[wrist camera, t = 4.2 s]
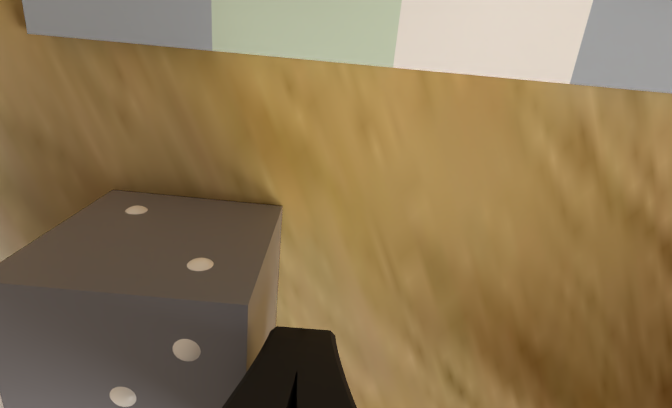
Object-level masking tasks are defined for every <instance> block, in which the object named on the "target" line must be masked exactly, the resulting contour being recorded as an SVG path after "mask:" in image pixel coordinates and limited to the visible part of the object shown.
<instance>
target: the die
mask: <svg viewBox="0 0 672 408" xmlns="http://www.w3.org/2000/svg"><path fill="white" fill-rule="evenodd" d="M282 207H283V206H276V205H265V204H255V203H244V202H234V201H223V200H213V199H202V198H192V197H182V196H171V195H161V194H150V193H140V192H129V191H119V190H112V191H110V192H109V193H107V194H105V195H104V196H102V197H101V198H99V199H98V200H96V201H95V202H93V203H92V204H90V205H88V206H87V207H85V208H84V209H82V210H81V211H79V212H78V213H76V214H75V215H73V216H71V217H70V218H68V219H67V220H65V221H64V222H62V223H61V224H59V225H58V226H56V227H54V228H53V229H51V230H50V231H48V232H47V233H45V234H44V235H42V236H41V237H39V238H37V239H36V240H34V241H33V242H31V243H30V244H28V245H27V246H25V247H23V248H22V249H20V250H19V251H17V252H16V253H14V254H13V255H11V256H10V257H8V258H6V259H5V260H3V261H2V262H0V394H1V398H2V402H3V406H4V408H222V407H223V405H224V404H225V403H226V401H227V400H228V398H229V397H230V395H231V394H232V393H233V391H234V390H235V388H236V387H237V386H238V384H239V383H240V381H241V380H242V378H243V377H244V376H245V374H246V372H247V371H248V369H249V368H250V366H251V365H252V363H253V362H254V360H255V358H256V357H257V355H258V353H259V352H260V350H261V348H262V346H263V345H264V343H265V341H266V339H267V337H268V335H269V333H270V331H271V330H272V329H274V328H275V327H276V310H277V293H278V276H279V259H280V241H281V224H282Z"/></svg>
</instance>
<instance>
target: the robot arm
mask: <svg viewBox="0 0 672 408" xmlns="http://www.w3.org/2000/svg"><path fill="white" fill-rule="evenodd" d="M222 408H357V407H356V405H355V402H354V400H353V397H352V395H351V392H350V389H349V386H348V384H347V381H346V378H345V374H344V371H343V368H342V365H341V361H340V358H339V354H338V350H337V345H336V339H335V335H334V334H333V333H332V332H331V331H329V330H316V329H302V328H289V327H275V328H274V329H272V330H271V331H270V333H269V335H268V337H267V339H266V341H265V343H264V345H263V346H262V348H261V350H260V352H259V353H258V355H257V357H256V358H255V360H254V362H253V363H252V365H251V366H250V368H249V369H248V371H247V372H246V374H245V376H244V377H243V378H242V380H241V381H240V383H239V384H238V386H237V387H236V388H235V390H234V391H233V393H232V394H231V395H230V397H229V398H228V400H227V401H226V403H225V404H224V405H223V407H222Z"/></svg>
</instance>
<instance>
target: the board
mask: <svg viewBox="0 0 672 408" xmlns="http://www.w3.org/2000/svg"><path fill="white" fill-rule="evenodd" d="M22 4H23V10H24V16H25V22H26V28H27V34H36V35H47V36H58V37H68V38H79V39H90V40H101V41H112V42H122V43H133V44H144V45H155V46H165V47H176V48H187V49H198V50H209V51H219V52H230V53H241V54H252V55H263V56H273V57H284V58H295V59H306V60H317V61H327V62H338V63H349V64H360V65H370V66H381V67H392V68H403V69H414V70H424V71H435V72H446V73H457V74H468V75H478V76H489V77H500V78H511V79H522V80H532V81H543V82H554V83H565V84H575V85H586V86H597V87H608V88H619V89H629V90H640V91H651V92H662V93H672V0H22Z"/></svg>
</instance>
